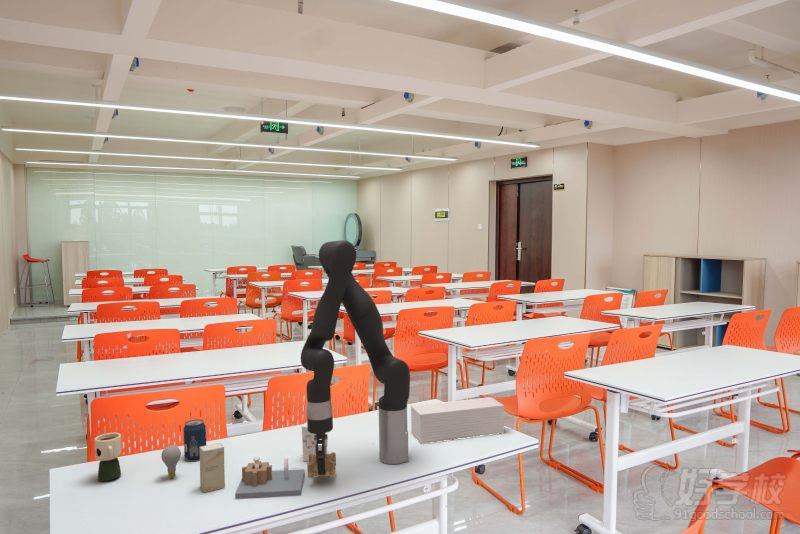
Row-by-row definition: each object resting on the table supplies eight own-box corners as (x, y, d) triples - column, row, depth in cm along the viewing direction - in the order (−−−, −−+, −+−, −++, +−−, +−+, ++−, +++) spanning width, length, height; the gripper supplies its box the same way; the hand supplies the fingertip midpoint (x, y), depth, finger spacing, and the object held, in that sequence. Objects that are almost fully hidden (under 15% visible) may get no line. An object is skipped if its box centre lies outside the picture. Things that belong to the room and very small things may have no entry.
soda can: (201, 452, 189) (199, 417, 189) (210, 457, 184) (209, 422, 184) (181, 457, 184) (179, 422, 184) (190, 463, 180) (188, 427, 179)
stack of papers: (490, 424, 213) (490, 397, 212) (503, 434, 203) (503, 405, 202) (411, 434, 204) (410, 405, 203) (420, 445, 194) (420, 414, 193)
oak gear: (336, 464, 171) (335, 451, 170) (335, 476, 162) (335, 463, 162) (309, 466, 170) (308, 453, 169) (307, 478, 162) (306, 465, 161)
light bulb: (163, 483, 166) (161, 450, 165) (161, 476, 170) (160, 444, 170) (182, 479, 168) (181, 447, 167) (180, 472, 173) (179, 441, 172)
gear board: (304, 473, 171) (304, 448, 170) (300, 495, 157) (299, 467, 156) (244, 477, 169) (243, 450, 169) (235, 498, 155) (234, 470, 155)
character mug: (94, 475, 172) (92, 433, 171) (119, 469, 176) (118, 429, 175) (98, 488, 163) (96, 444, 162) (125, 481, 167) (123, 439, 166)
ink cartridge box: (311, 451, 189) (310, 408, 188) (325, 452, 188) (324, 409, 187) (302, 461, 180) (300, 416, 179) (316, 462, 179) (315, 417, 178)
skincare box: (203, 493, 159) (202, 451, 158) (199, 487, 163) (198, 446, 162) (225, 487, 162) (224, 446, 162) (221, 481, 166) (220, 442, 165)
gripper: (331, 422, 158) (334, 479, 159) (332, 406, 172) (335, 458, 174) (305, 423, 157) (308, 481, 159) (308, 407, 172) (310, 460, 173)
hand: (322, 469), depth 166 cm, fingers closed on oak gear, 6 cm apart
